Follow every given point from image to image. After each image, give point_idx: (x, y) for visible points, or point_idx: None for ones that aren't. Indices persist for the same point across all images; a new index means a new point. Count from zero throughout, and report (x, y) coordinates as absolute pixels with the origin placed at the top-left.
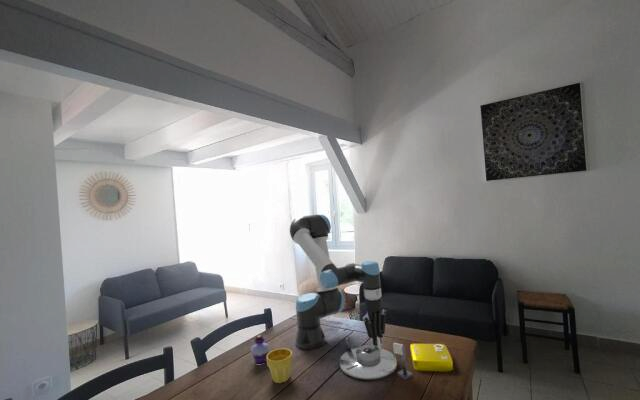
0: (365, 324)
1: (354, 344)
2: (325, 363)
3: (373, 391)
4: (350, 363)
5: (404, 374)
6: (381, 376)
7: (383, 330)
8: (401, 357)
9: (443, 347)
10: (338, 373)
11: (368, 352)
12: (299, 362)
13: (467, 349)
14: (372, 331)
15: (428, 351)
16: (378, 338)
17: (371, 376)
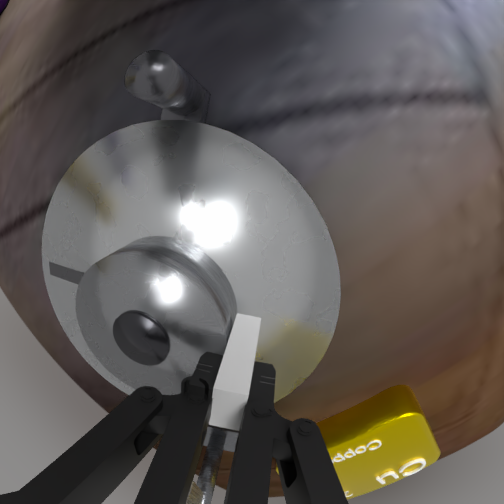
0: (45, 478)
1: (307, 56)
2: (49, 119)
3: (86, 385)
4: (80, 246)
5: (208, 440)
6: None
7: (289, 475)
8: (197, 483)
9: (411, 472)
10: (42, 230)
11: (128, 353)
12: (21, 53)
13: (460, 447)
14: (133, 467)
15: (366, 469)
16: (218, 425)
17: (99, 373)
